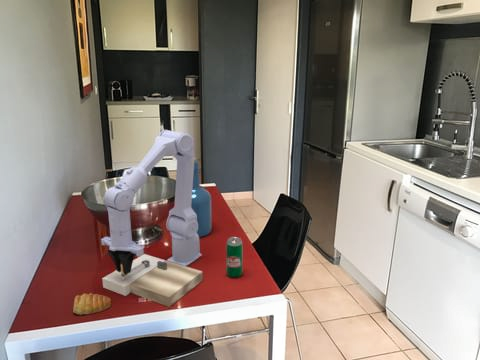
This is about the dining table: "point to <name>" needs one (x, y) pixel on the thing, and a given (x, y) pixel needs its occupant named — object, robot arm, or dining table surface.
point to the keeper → (162, 265)
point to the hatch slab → (167, 283)
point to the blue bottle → (201, 204)
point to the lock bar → (134, 269)
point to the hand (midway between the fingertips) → (124, 271)
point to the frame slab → (124, 287)
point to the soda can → (234, 257)
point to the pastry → (90, 303)
